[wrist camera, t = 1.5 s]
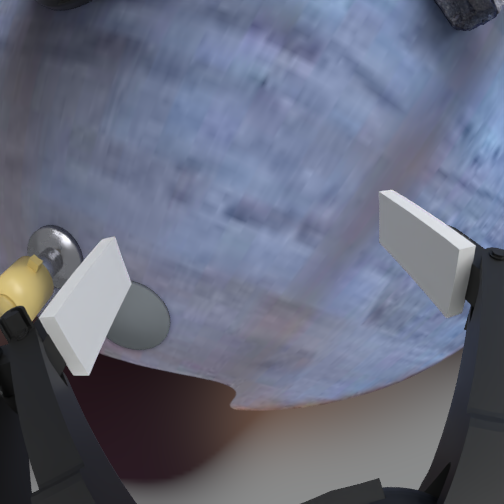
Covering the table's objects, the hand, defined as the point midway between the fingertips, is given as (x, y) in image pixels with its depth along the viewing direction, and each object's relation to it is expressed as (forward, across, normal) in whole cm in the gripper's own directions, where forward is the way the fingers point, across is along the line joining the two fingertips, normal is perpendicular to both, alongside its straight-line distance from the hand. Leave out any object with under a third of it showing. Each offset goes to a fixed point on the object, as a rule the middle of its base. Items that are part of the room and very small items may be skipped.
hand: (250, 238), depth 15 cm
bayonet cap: (+18, -30, -8) cm, 36 cm away
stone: (+25, +35, +23) cm, 49 cm away
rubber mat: (+25, -21, -20) cm, 38 cm away
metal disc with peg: (+25, -30, -8) cm, 40 cm away
